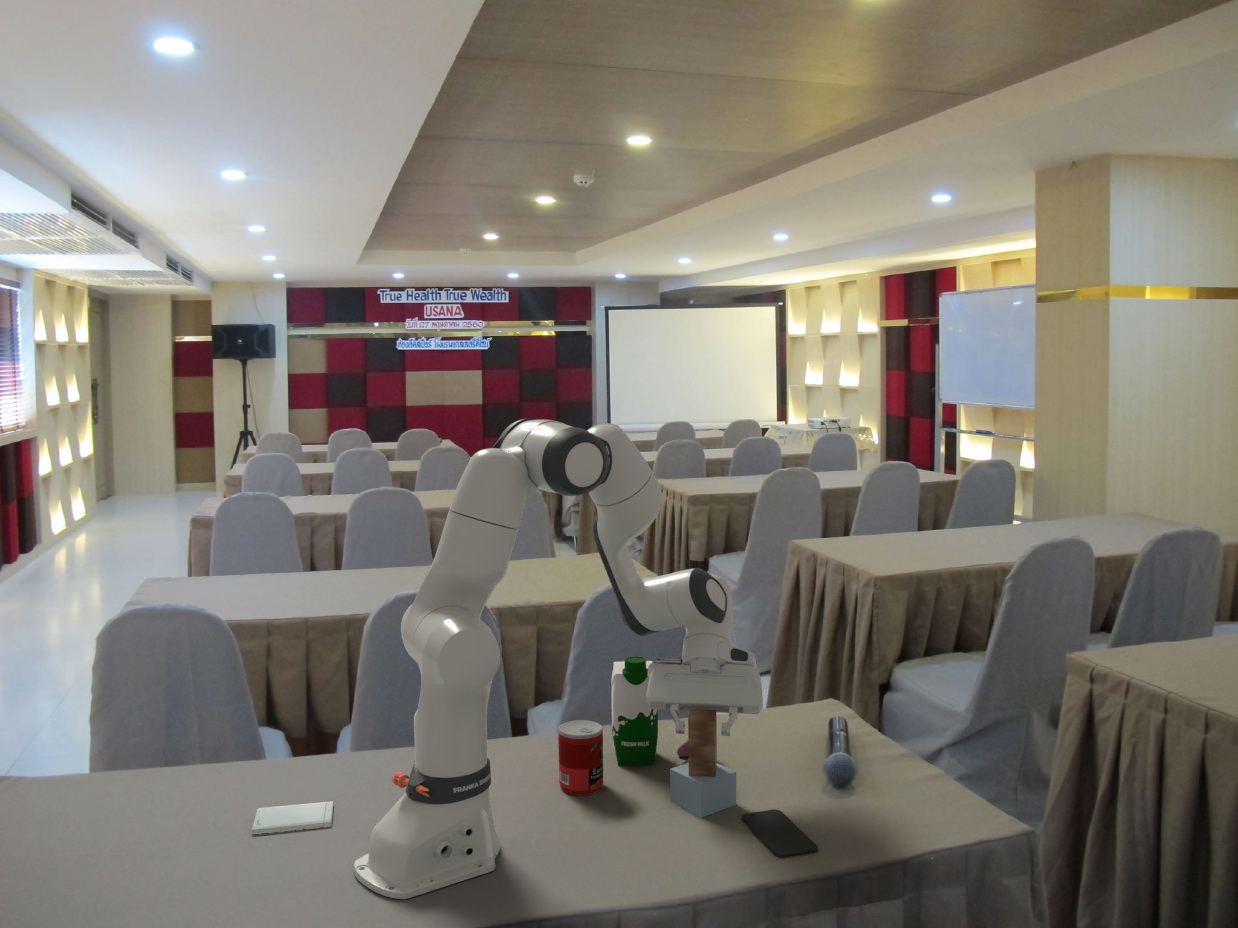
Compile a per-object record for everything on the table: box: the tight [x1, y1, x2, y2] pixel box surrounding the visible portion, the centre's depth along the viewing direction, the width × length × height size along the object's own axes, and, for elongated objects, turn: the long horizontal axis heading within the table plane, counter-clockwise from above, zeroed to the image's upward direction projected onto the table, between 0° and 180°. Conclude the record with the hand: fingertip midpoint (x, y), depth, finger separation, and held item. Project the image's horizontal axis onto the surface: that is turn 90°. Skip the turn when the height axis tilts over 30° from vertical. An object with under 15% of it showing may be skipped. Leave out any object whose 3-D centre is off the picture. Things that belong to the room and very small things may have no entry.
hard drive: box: [251, 801, 335, 835], centre depth 169 cm, size 2×8×12 cm
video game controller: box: [676, 739, 689, 765], centre depth 190 cm, size 10×5×7 cm, turn 1°
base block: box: [669, 762, 737, 818], centre depth 174 cm, size 8×8×6 cm
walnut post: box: [687, 709, 718, 777], centre depth 173 cm, size 4×4×10 cm
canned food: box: [557, 719, 604, 796], centre depth 181 cm, size 8×8×11 cm
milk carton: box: [610, 656, 659, 767], centre depth 193 cm, size 9×9×20 cm
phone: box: [740, 809, 819, 859], centre depth 163 cm, size 7×1×15 cm
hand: (702, 733), depth 172 cm, fingers open, 6 cm apart
